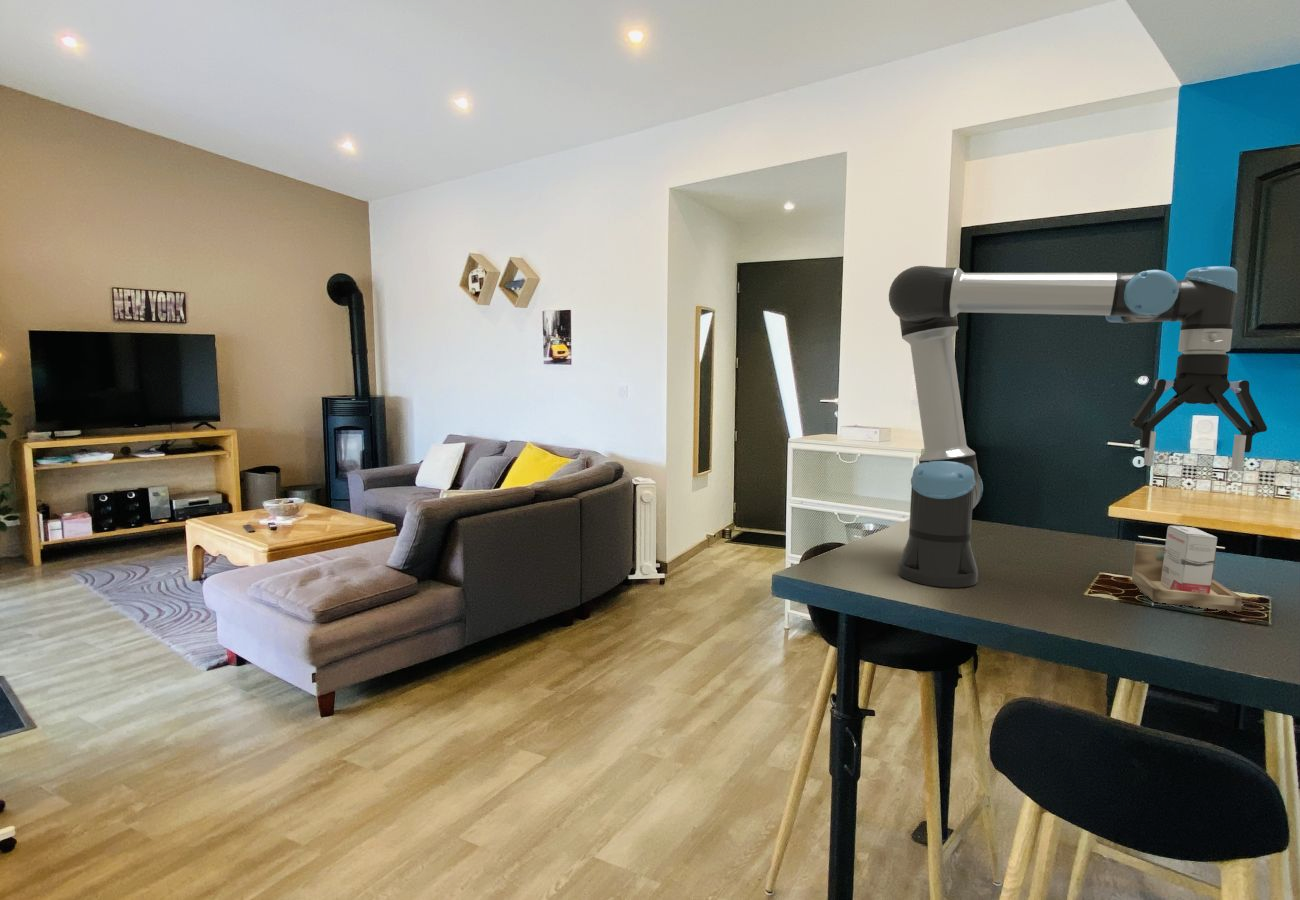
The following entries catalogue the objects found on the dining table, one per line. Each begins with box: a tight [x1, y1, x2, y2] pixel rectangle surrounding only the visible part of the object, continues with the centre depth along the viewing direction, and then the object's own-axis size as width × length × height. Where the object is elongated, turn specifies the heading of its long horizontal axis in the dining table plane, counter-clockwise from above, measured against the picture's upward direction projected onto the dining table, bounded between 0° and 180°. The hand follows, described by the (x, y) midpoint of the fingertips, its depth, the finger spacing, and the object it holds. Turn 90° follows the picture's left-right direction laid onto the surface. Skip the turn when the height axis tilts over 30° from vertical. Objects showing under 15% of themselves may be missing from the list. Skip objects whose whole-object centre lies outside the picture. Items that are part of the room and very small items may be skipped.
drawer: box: [1131, 543, 1243, 613], centre depth 130 cm, size 13×14×8 cm
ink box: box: [1161, 525, 1218, 594], centre depth 129 cm, size 9×5×12 cm, turn 164°
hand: (1191, 467), depth 128 cm, fingers open, 13 cm apart
